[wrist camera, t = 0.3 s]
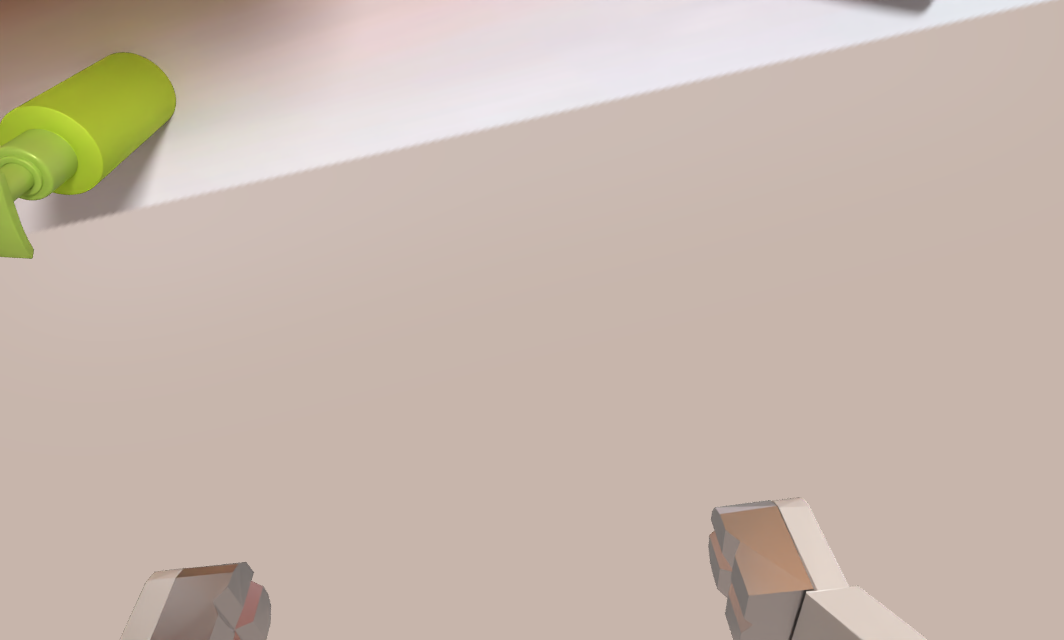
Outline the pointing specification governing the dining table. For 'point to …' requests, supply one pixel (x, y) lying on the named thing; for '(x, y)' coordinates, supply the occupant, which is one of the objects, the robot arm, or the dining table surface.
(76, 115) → the soap dispenser
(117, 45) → the dining table surface
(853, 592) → the robot arm
